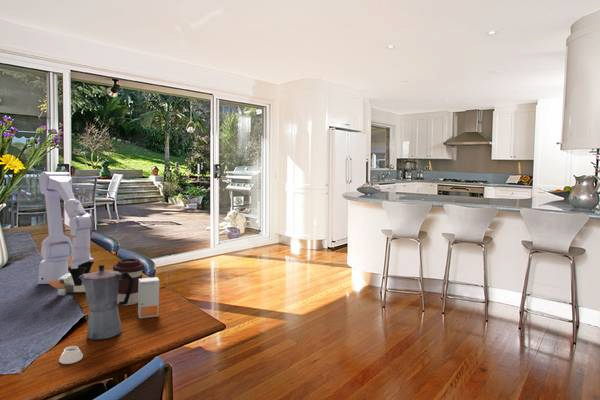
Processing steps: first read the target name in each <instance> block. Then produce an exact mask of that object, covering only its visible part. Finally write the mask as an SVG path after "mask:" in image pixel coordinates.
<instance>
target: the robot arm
mask: <svg viewBox="0 0 600 400" xmlns="http://www.w3.org/2000/svg"><path fill="white" fill-rule="evenodd" d="M72 182H73V178H72V175H71V173H70V172H68V171H59V172H58V171H42V172H41V173H40V174H39V178H38V184H39V185H38V187H39V191H40V194H42V195H44V201H45V210H46V221H47V228H48V229H47V230H48V236H47V237H46V238H44V239H43V240H42V241H41V249H40V254H41V257H42V260H41V261H40V262H39V265H38V282H37V284H38V285H47V284H48V281H58V279H59V278H60V277H62V276H63V275H65V274H66V273H70V274H71V276H72V278H73V282H74V285H75V286H81V285H82V281H81V279H80V278H78V277H79V276H81V275H83V274H87V273H91V269H92V266H93V264H94V263H95V261H94V257H92V254H91V230H92V229H93V228H94V218H93V216H92V214H91V213H89V212H88V211H87V212H86V211H85V208H84V206H83V205H82V202H81V201H80V200H79V199H76V198H75V194H74V192H73V189H72V184H73V183H72ZM60 197H61V199H62V200H63V202H64V205H63V209H64V211H65V212H66V215H67V217H68V219H69V222H68V225H69V229H70V235H71V236H72V237H71V238H72V239H71V238H70V237H68V236H67V235H65V234H64V228H63V218H62V217H63V216H62V208H61V200H60ZM71 256H72V259H71V263H70V266H69V262H68V261H69V260H70V257H71Z"/></svg>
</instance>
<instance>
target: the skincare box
mask: <svg viewBox="0 0 600 400" xmlns="http://www.w3.org/2000/svg"><path fill="white" fill-rule="evenodd" d="M159 304H160V278H159V277H158V276H155V277H144V278H143V277H142V279H139V284H138V303H137V316H138V319H146V318H154V317H156V318H157V317H159V309H160V305H159Z"/></svg>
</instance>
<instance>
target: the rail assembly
mask: <svg viewBox="0 0 600 400" xmlns="http://www.w3.org/2000/svg"><path fill="white" fill-rule="evenodd" d="M58 281H59V282H60V283H62V284H64V285H66V288H65V289H57V295H58V294H66V293H68V292H69V293H68V294H71V293H72V294H74V293H75V294H76V293H77V294H80V293H81V294H82V293H85V294H86V292H74V282H73V278H72V276H71V274H70V272H68V273H66V274H65V275H63V276H62V277H60V278H59V279H58ZM66 295H67V294H66Z"/></svg>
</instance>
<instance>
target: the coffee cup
mask: <svg viewBox="0 0 600 400" xmlns="http://www.w3.org/2000/svg"><path fill="white" fill-rule="evenodd" d="M144 269H145V263H143V262H141V261H140V259H138V258H130V257H129V258H123V259H119V260H118V261H117V263H115V264H113V265H112V271H117V272H119V273H124V272H128V274H129V275H130V276H131V277H132V278H133V280H134V284H133V287H132V290H131V293H130V296H129V299H128V303H127V304H125V305H124V306H133V305H136V304H138V284H139V279H142V278H143V271H144ZM128 284H129V280H128V279H123V280H119V284H118V297H117V305H119V302H123V301H124V299H125V297H126V291H127V288H128Z"/></svg>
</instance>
